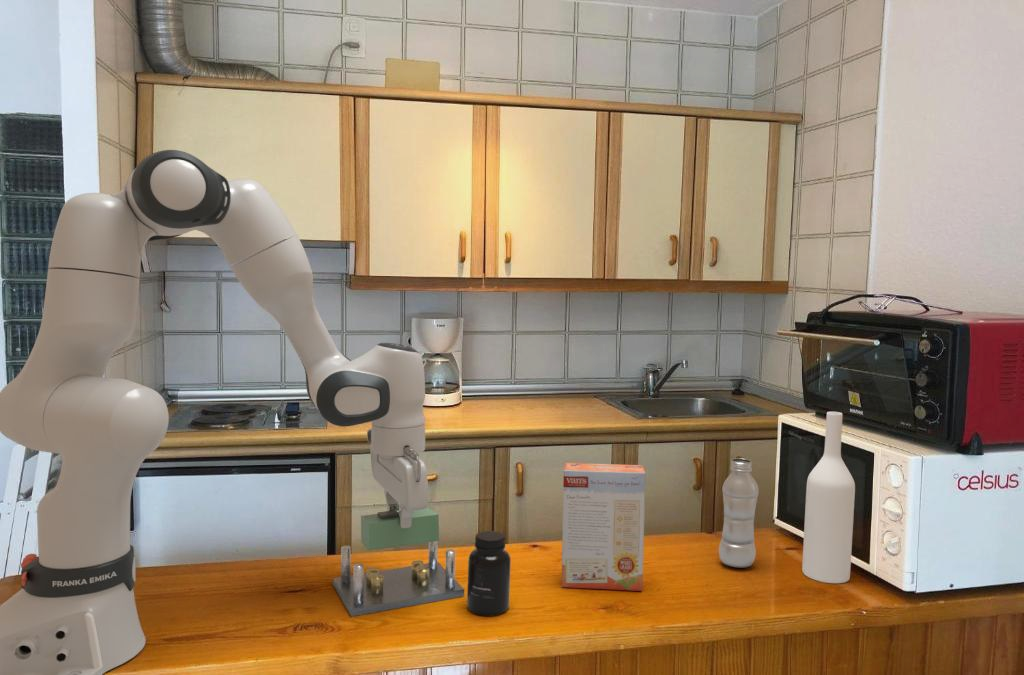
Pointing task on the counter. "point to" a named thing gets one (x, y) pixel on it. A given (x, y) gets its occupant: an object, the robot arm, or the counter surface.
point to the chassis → (396, 583)
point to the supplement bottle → (489, 575)
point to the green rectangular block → (398, 529)
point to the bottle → (829, 512)
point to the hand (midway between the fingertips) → (399, 520)
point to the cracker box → (603, 526)
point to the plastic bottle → (739, 515)
